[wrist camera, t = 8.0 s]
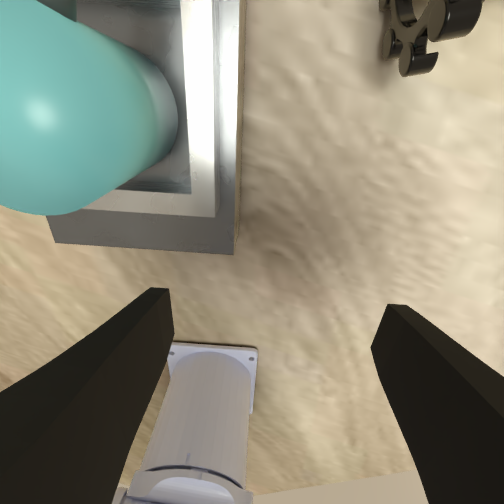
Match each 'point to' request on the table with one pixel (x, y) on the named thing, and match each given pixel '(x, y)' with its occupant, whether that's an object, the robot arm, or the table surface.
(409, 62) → the valve
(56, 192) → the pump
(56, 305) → the table surface
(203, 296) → the table surface
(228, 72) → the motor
